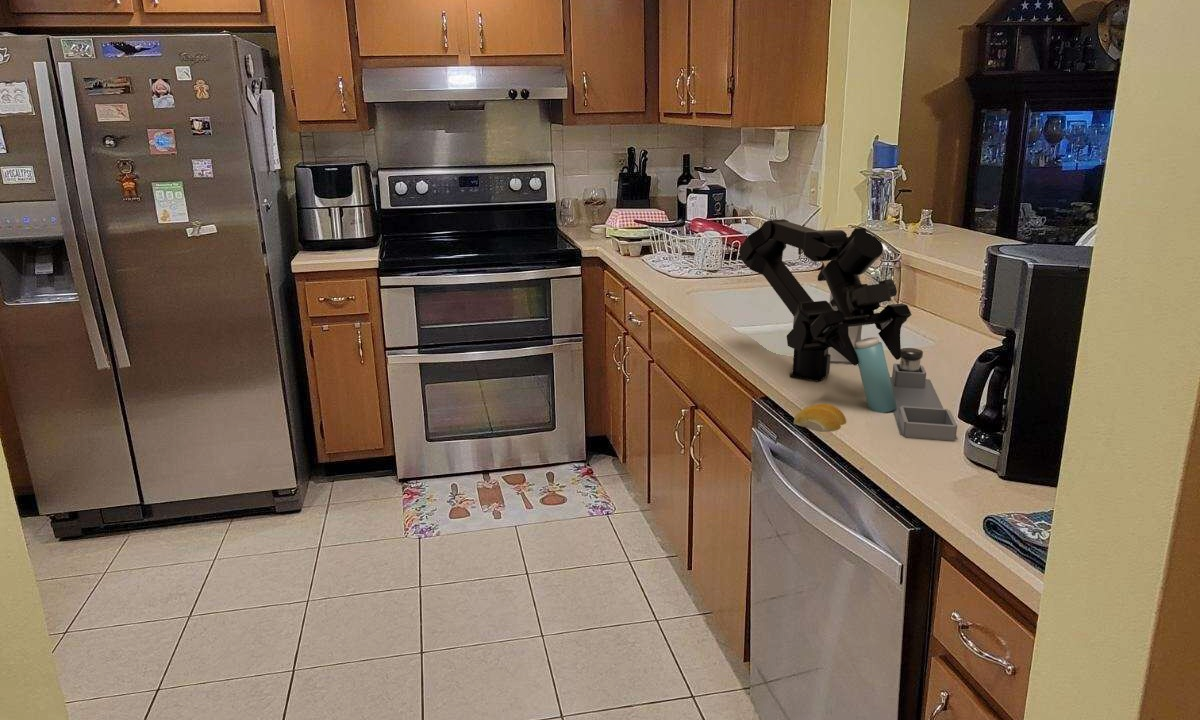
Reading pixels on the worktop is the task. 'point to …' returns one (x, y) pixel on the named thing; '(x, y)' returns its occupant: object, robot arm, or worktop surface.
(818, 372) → the robot arm
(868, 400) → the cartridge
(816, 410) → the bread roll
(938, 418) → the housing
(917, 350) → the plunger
